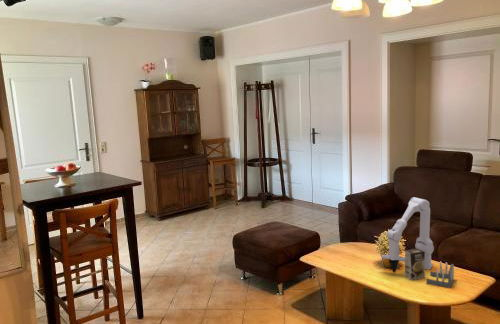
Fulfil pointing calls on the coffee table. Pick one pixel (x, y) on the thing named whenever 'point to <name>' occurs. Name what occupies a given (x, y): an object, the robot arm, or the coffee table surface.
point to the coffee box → (414, 264)
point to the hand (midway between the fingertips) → (394, 271)
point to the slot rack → (442, 275)
